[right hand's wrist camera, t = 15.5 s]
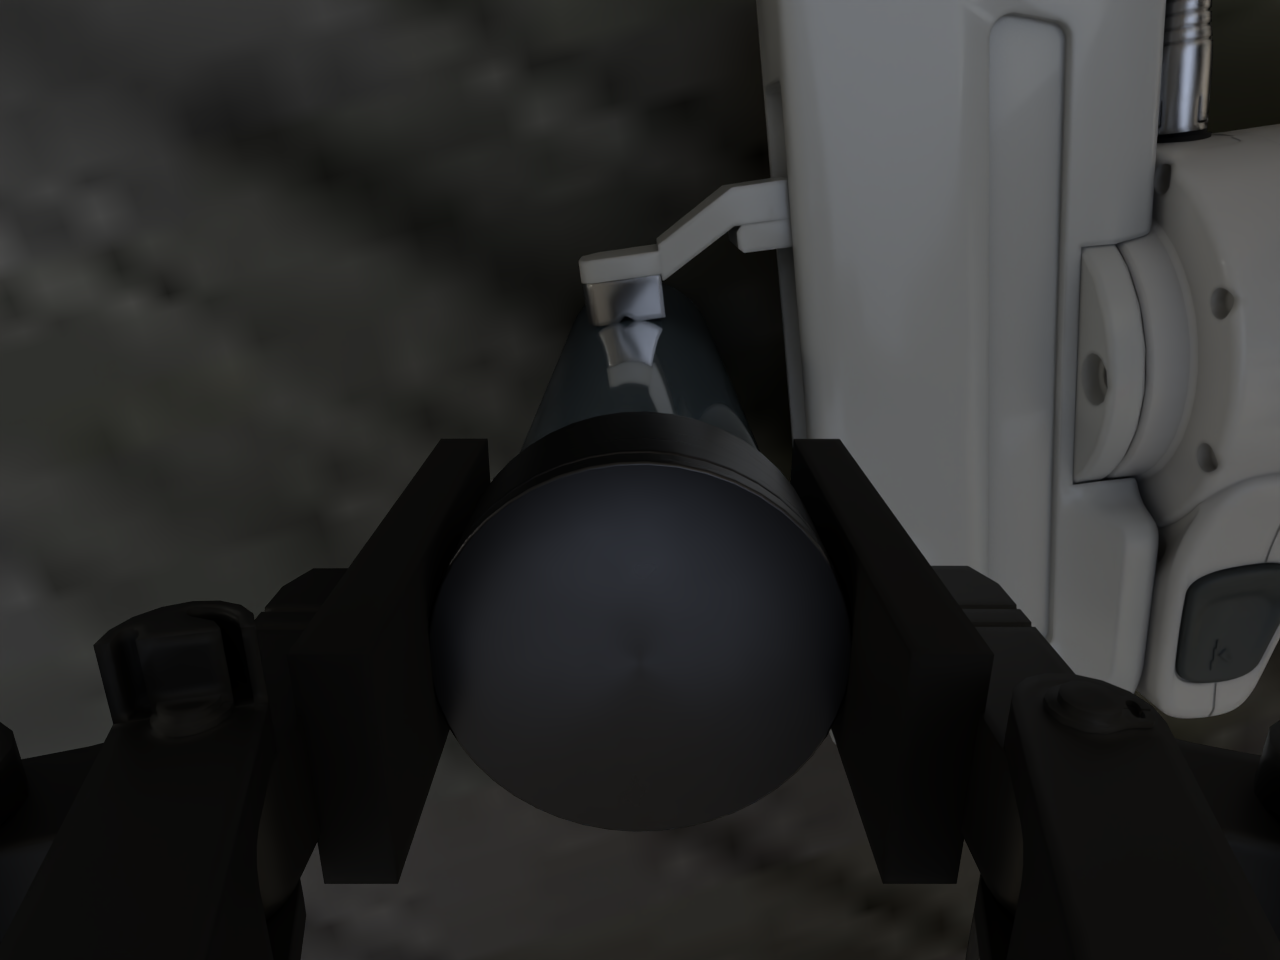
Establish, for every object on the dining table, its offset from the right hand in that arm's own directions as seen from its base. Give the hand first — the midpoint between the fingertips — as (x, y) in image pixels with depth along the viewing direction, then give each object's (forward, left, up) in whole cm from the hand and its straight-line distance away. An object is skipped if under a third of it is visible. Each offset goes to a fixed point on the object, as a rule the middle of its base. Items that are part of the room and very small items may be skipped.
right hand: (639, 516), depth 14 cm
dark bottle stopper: (0, 0, +4) cm, 4 cm away
